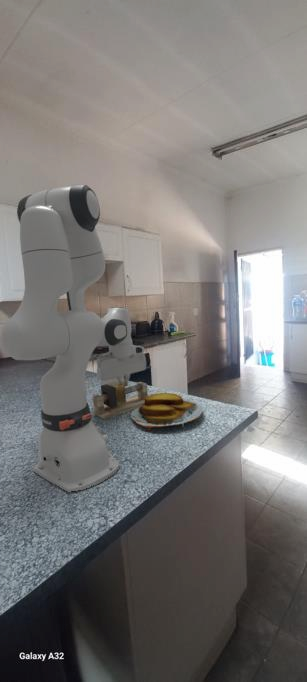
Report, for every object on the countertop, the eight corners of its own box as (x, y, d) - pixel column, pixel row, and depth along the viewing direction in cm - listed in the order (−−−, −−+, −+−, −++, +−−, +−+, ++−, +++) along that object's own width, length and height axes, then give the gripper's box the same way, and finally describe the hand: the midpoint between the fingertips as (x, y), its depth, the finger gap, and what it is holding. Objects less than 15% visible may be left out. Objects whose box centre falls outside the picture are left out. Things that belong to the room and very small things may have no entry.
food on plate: (153, 442, 85) (151, 421, 84) (119, 415, 106) (117, 397, 105) (219, 419, 97) (219, 400, 96) (176, 399, 119) (176, 383, 118)
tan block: (126, 402, 109) (124, 384, 108) (117, 405, 106) (115, 387, 105) (116, 398, 114) (115, 381, 113) (107, 401, 111) (106, 384, 110)
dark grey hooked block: (117, 405, 106) (115, 387, 105) (111, 407, 105) (110, 389, 104) (107, 401, 111) (106, 384, 110) (102, 403, 110) (100, 385, 109)
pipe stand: (151, 402, 116) (150, 384, 114) (103, 420, 102) (101, 399, 100) (138, 397, 122) (136, 380, 121) (90, 413, 108) (89, 394, 107)
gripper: (100, 356, 100) (104, 395, 102) (147, 347, 113) (149, 381, 115) (91, 354, 105) (95, 391, 107) (137, 345, 118) (140, 379, 120)
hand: (123, 386), depth 111 cm, fingers closed
